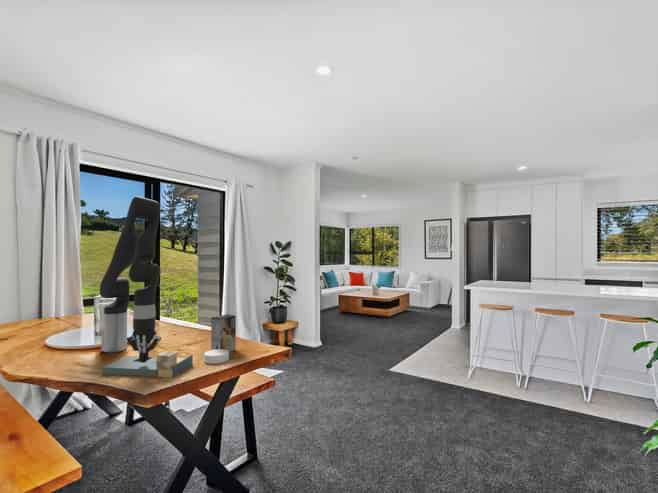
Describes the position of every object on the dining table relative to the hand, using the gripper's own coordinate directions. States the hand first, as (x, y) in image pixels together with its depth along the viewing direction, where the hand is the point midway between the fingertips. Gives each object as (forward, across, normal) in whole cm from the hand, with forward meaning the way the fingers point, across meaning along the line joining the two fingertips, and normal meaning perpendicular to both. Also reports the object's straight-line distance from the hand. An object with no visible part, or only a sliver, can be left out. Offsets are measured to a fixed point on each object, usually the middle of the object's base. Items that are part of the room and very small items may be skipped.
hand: (143, 361), depth 132 cm
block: (+1, -10, +1) cm, 10 cm away
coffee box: (+4, -19, -29) cm, 35 cm away
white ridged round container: (+4, -21, -17) cm, 28 cm away
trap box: (+4, 0, -3) cm, 5 cm away
